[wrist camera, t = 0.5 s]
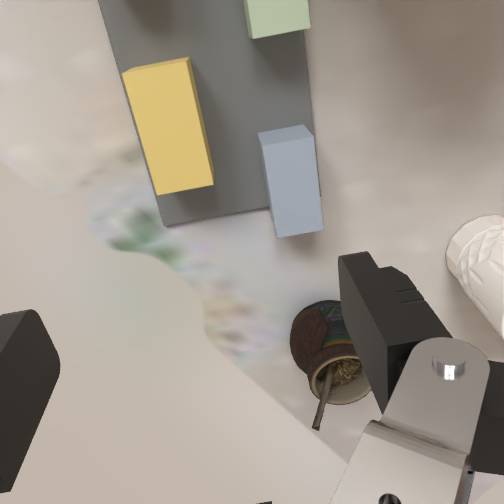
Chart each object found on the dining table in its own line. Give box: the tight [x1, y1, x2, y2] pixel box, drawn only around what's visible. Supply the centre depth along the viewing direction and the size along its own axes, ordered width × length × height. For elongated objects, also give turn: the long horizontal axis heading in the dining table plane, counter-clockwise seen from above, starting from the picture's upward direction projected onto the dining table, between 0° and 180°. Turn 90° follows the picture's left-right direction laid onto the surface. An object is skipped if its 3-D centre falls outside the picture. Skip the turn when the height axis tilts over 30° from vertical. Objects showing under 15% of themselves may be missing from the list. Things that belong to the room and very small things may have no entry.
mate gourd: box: [290, 300, 372, 431], centre depth 38 cm, size 7×8×10 cm
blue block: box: [257, 124, 324, 238], centre depth 33 cm, size 7×4×4 cm, turn 10°
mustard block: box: [122, 57, 214, 195], centre depth 31 cm, size 8×4×4 cm, turn 10°
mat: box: [98, 0, 321, 226], centre depth 31 cm, size 22×13×1 cm, turn 10°
